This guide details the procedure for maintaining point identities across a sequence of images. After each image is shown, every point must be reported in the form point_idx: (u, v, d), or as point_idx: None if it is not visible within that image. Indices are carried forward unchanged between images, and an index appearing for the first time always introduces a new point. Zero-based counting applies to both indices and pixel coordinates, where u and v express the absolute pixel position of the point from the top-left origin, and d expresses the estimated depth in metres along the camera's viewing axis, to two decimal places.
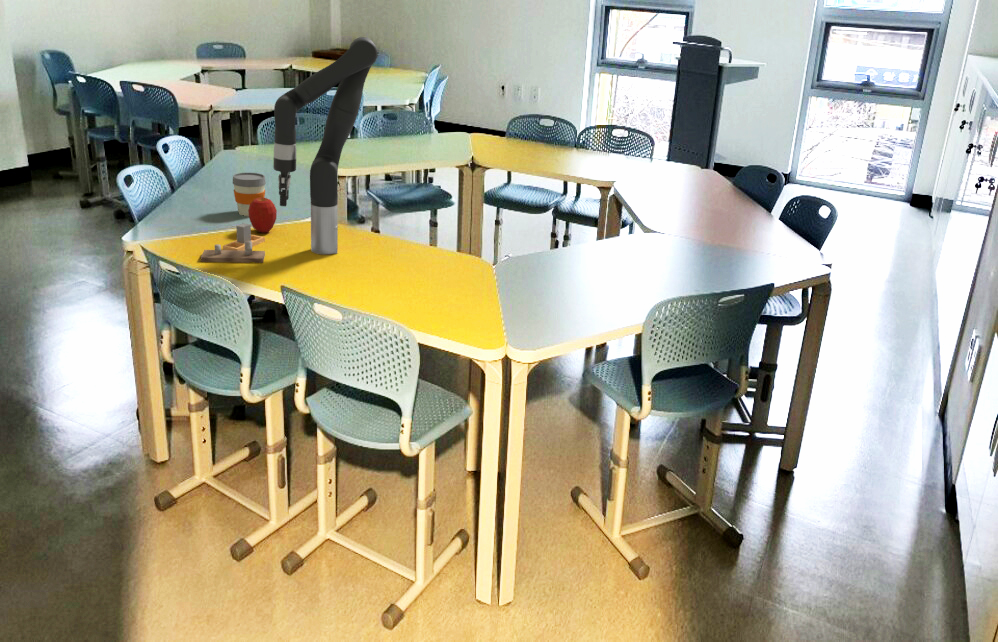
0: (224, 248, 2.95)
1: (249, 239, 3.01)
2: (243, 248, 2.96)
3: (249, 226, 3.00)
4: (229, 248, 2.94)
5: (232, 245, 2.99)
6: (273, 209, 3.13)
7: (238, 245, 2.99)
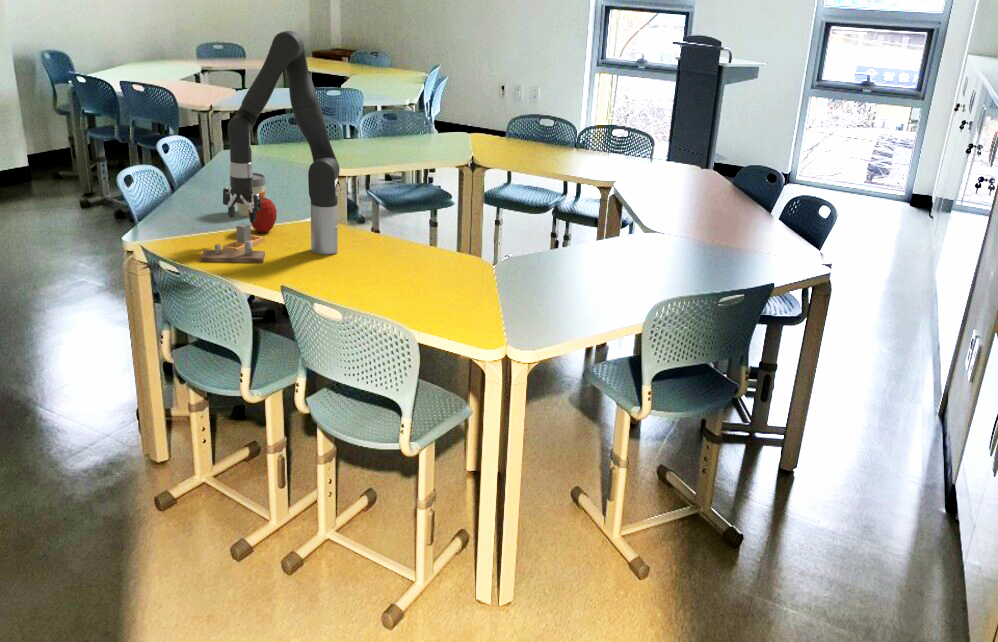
0: (224, 248, 2.95)
1: (249, 239, 3.01)
2: (243, 248, 2.96)
3: (249, 226, 3.00)
4: (229, 248, 2.94)
5: (232, 245, 2.99)
6: (273, 209, 3.13)
7: (238, 245, 2.99)
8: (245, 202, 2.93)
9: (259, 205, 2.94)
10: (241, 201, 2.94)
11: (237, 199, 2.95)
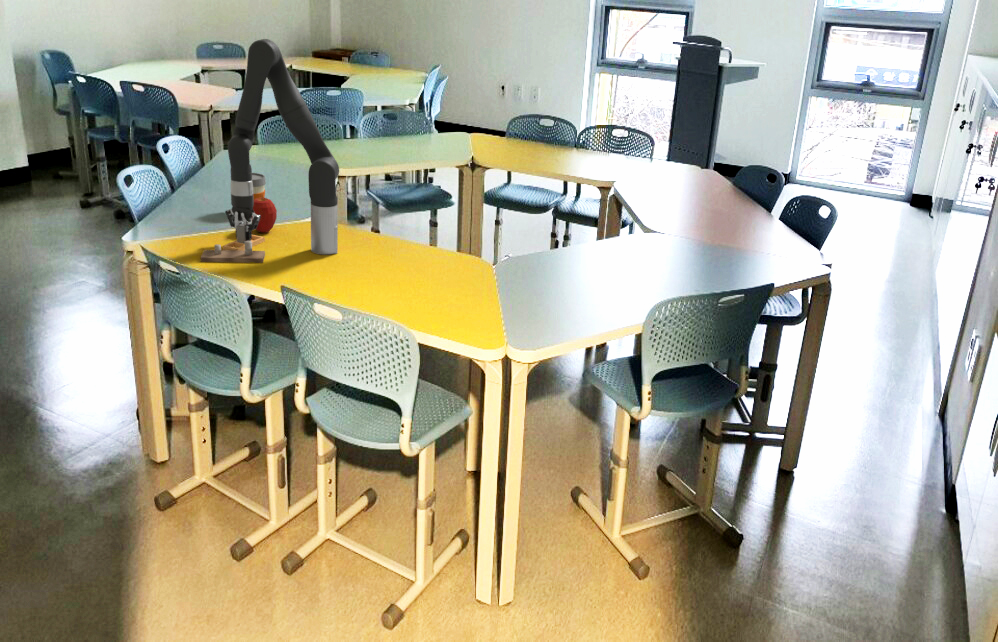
0: (224, 248, 2.95)
1: None
2: (243, 248, 2.96)
3: None
4: (229, 248, 2.94)
5: (232, 245, 2.99)
6: (273, 209, 3.13)
7: (238, 245, 2.99)
8: (244, 221, 2.96)
9: (256, 225, 2.98)
10: (242, 219, 2.97)
11: (238, 217, 2.97)
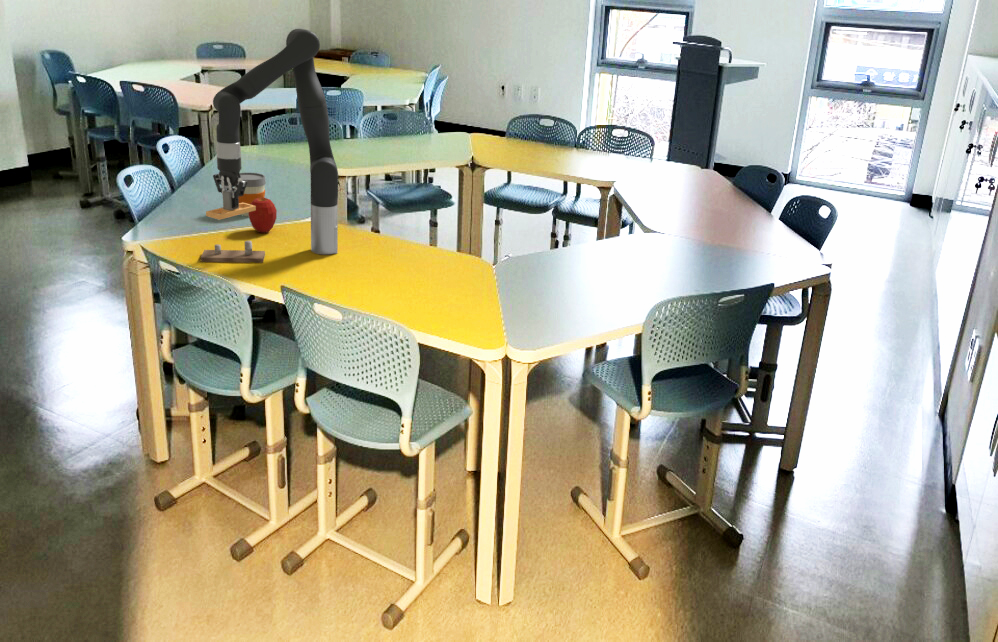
0: (207, 214, 2.77)
1: None
2: (227, 215, 2.77)
3: None
4: (212, 214, 2.76)
5: (218, 212, 2.80)
6: (273, 209, 3.13)
7: (224, 212, 2.80)
8: (229, 186, 2.77)
9: (242, 191, 2.78)
10: None
11: (225, 182, 2.78)
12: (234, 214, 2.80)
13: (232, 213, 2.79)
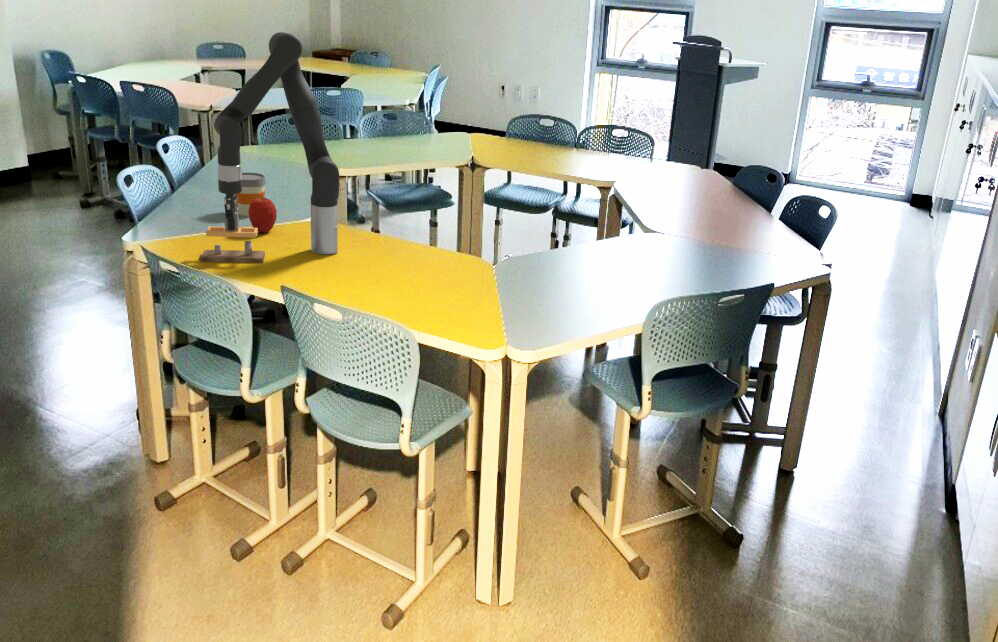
0: None
1: None
2: (217, 234, 2.81)
3: (235, 215, 2.81)
4: (207, 230, 2.84)
5: (221, 230, 2.86)
6: (273, 209, 3.13)
7: None
8: None
9: (232, 214, 2.78)
10: None
11: None
12: (226, 235, 2.82)
13: (223, 233, 2.82)
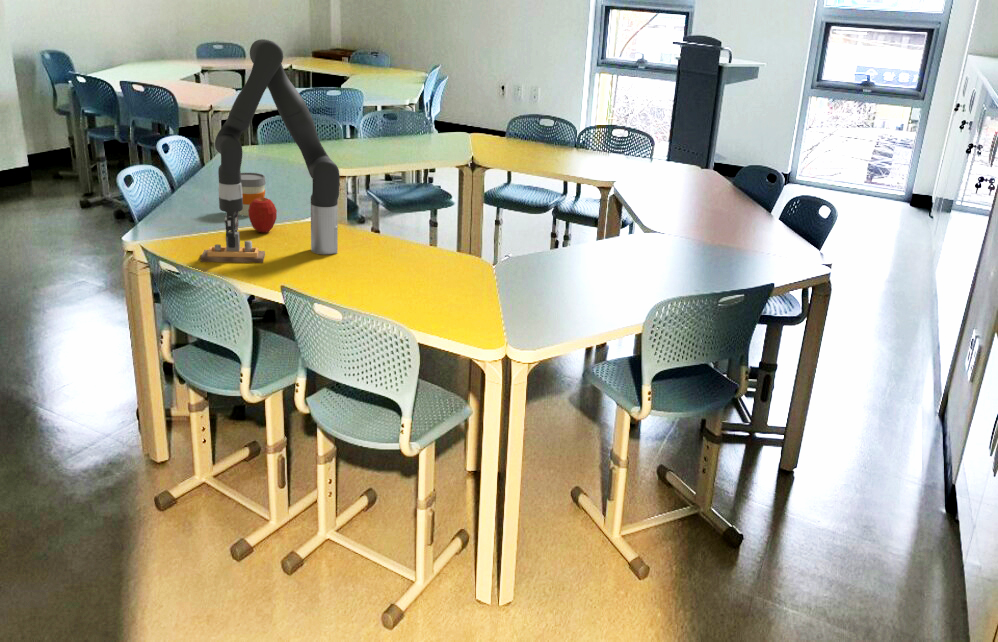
0: None
1: (235, 248, 2.86)
2: (218, 254, 2.84)
3: (236, 235, 2.84)
4: (208, 250, 2.86)
5: (222, 250, 2.89)
6: (273, 209, 3.13)
7: None
8: None
9: (232, 232, 2.79)
10: None
11: None
12: (227, 255, 2.85)
13: (225, 254, 2.85)
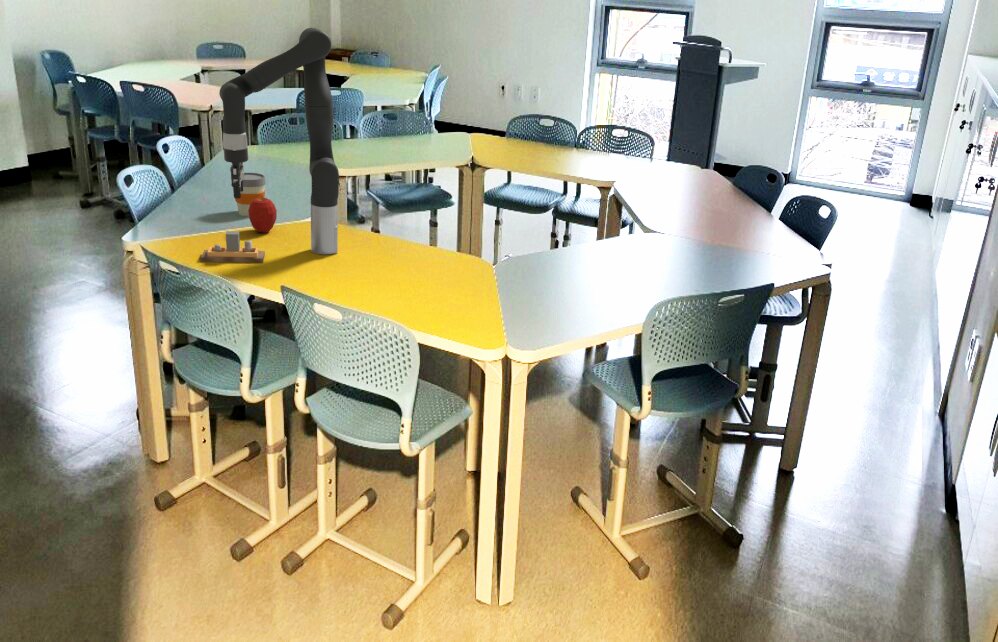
0: None
1: (235, 248, 2.86)
2: (218, 254, 2.84)
3: (236, 235, 2.84)
4: (208, 250, 2.86)
5: (222, 250, 2.89)
6: (273, 209, 3.13)
7: None
8: None
9: (237, 181, 2.75)
10: None
11: None
12: (227, 255, 2.85)
13: (225, 254, 2.85)
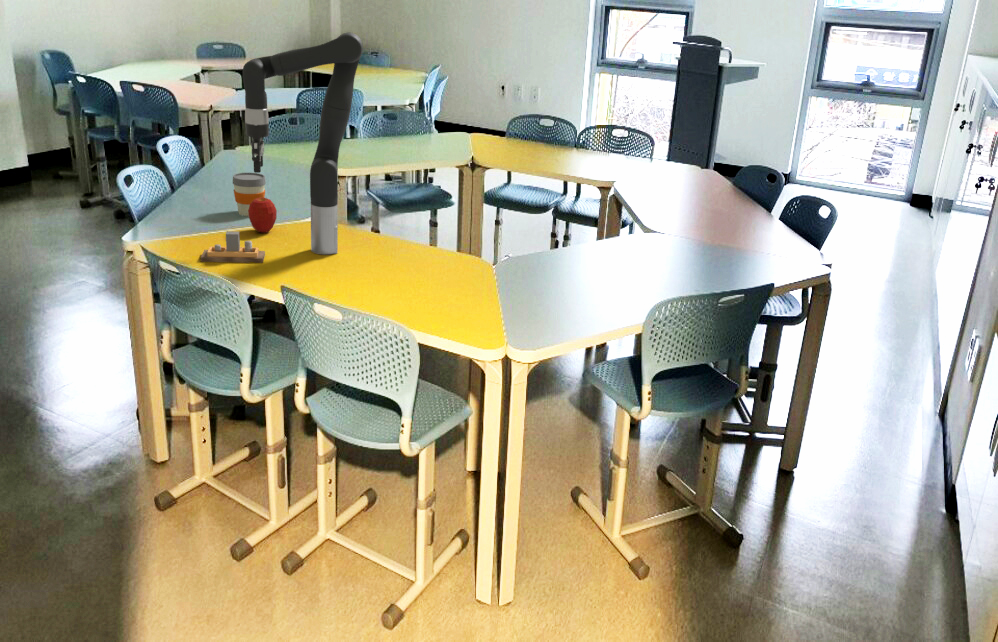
0: None
1: (235, 248, 2.86)
2: (218, 254, 2.84)
3: (236, 235, 2.84)
4: (208, 250, 2.86)
5: (222, 250, 2.89)
6: (273, 209, 3.13)
7: None
8: None
9: (258, 155, 2.82)
10: None
11: None
12: (227, 255, 2.85)
13: (225, 254, 2.85)
